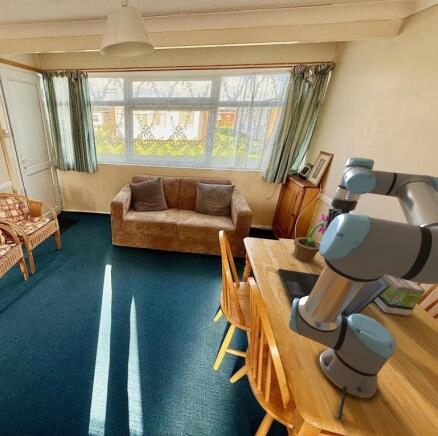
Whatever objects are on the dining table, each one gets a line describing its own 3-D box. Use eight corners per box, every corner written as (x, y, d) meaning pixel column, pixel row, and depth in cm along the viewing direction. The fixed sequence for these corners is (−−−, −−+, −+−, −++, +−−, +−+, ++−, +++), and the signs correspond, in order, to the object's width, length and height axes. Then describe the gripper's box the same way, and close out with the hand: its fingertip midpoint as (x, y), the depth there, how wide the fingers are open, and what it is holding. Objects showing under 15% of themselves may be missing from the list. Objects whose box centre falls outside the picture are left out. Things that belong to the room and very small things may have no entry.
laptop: (294, 312, 104) (295, 309, 103) (278, 271, 130) (278, 268, 129) (348, 321, 99) (349, 318, 98) (320, 277, 125) (321, 274, 124)
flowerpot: (319, 266, 134) (338, 220, 121) (292, 261, 138) (307, 216, 125) (312, 252, 146) (328, 210, 133) (287, 248, 150) (300, 207, 137)
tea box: (409, 316, 101) (427, 290, 95) (383, 312, 103) (399, 287, 97) (385, 292, 114) (399, 268, 108) (362, 289, 116) (374, 266, 110)
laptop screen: (388, 285, 88) (390, 286, 88) (348, 245, 114) (349, 245, 114) (349, 319, 98) (351, 319, 98) (321, 274, 124) (322, 275, 124)
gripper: (367, 205, 82) (343, 258, 93) (348, 193, 94) (329, 242, 104) (342, 203, 84) (322, 256, 94) (327, 192, 96) (310, 240, 106)
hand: (325, 249), depth 99 cm, fingers closed
